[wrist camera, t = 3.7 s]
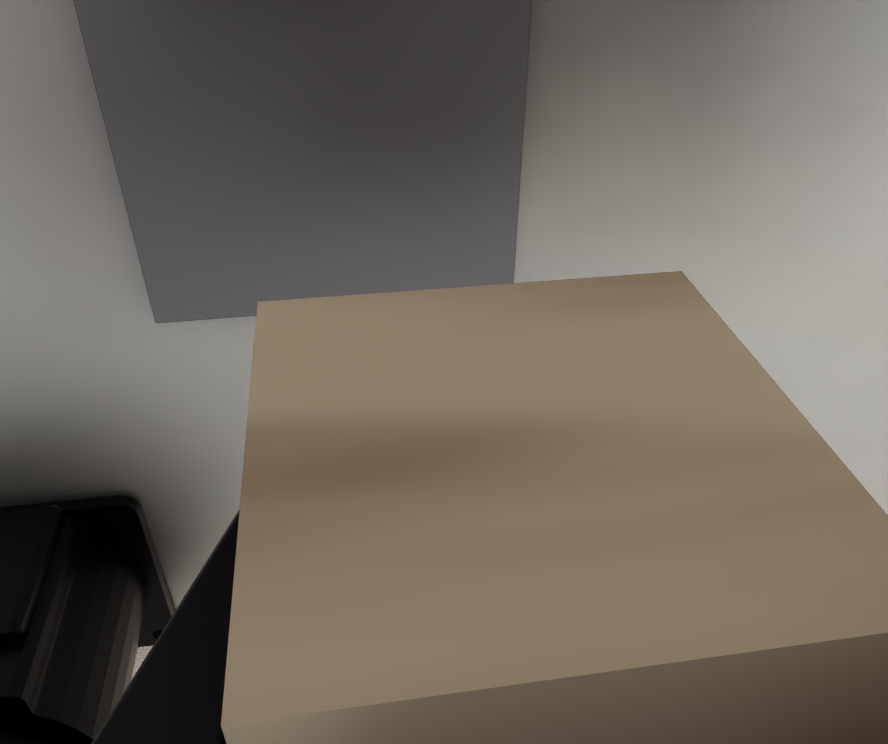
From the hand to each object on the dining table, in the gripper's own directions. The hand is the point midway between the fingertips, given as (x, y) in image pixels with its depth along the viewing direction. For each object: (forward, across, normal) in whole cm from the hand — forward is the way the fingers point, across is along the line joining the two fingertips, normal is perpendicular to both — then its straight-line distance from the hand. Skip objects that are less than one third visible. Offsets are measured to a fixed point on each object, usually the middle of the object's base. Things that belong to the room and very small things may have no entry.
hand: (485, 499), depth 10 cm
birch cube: (+1, 0, 0) cm, 1 cm away
